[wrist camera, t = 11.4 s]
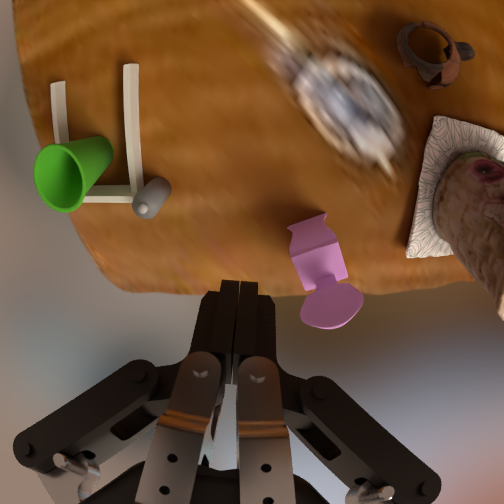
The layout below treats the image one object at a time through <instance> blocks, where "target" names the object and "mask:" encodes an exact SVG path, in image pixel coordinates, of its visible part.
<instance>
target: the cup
mask: <svg viewBox="0 0 504 504" xmlns="http://www.w3.org/2000/svg"><path fill="white" fill-rule="evenodd" d="M113 154H114V151H113V147H112V144H111V143H110V141H109V140H108V139H106V138H104V137H101V136H95V137H90V138H85V139H80V140H76V141H71V142H67V143H63V144H49V145H47V146H45V147H44V148H43V149H41V151H40V152H39V154H38V155H37V157H36V160H35V163H34V169H33V176H34V182H35V186H36V189H37V191H38V193H39V195H40V197H41V198H42V200H43V201H44V202H45V203H46V204H47V205H48V206H49V207H50V208H52V209H53V210H56V211H58V212H63V213H66V212H72V211H74V210H76V209H77V208H78V207H79V206H80V205H81V204H82V202H83V200H84V197H85V194H86V193H87V192H88V191H89V189H90V188H91V187H92V185H93V184H94V183H95V182H96V180H97V179H98V178H99V177H100V176H101V174H102V173H103V172H104V171H105V170H106V168H107V167H108V166H109V165H110V163H111V162H112V159H113Z"/></svg>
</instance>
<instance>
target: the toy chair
mask: <svg viewBox="0 0 504 504" xmlns="http://www.w3.org/2000/svg"><path fill="white" fill-rule="evenodd" d="M326 215H327V213H324V214H321V215H318V216H315V217H312V218H310V219H307V220H304V221H301V222H298V223H296V224H293V225H290V226H287V229H289V230H290V231H291V232H292V240H291V243H290V247H289V251H290V256H291V260H292V262H293V264H294V266H295V268H296V270H297V273H298V275H299V277H300V279H301V282H302V284H303V286H304V288H305V291H308V290H311V289H314V288H316V289H317V291H315V292H313V293H312V294H310V295H308V296H307V297H306V299H305V301H304V303H303V306H302V308H301V312H300V318H301V320H302V321H303V322H304V323H306V324H308V325H311V326H314V327H318V328H323V329H334V328H338V327H340V326H343V325H344V324H346V323H347V322H348V321H349V320H350V319H352V317H353V316H354V315H355V314H356V313H357V312H358V311H359V309H360V308H361V306H362V305H363V301H364V299H363V295H362V293H361V292H360V291H359V290H357V289H356V288H354V287H353V286H351V285H350V284H349V283H342V284H337V281H339V280H342V279H345V278H348V274H347V270H346V267H345V264H344V260H343V257H342V253H341V250H340V247H339V243H338V241H337V238H336V235H335V234H334V232H333V231H332V230H331V229H329V228H328V227H327V226H326V225H325V223H324V219H325V217H326Z"/></svg>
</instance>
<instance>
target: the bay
mask: <svg viewBox="0 0 504 504" xmlns="http://www.w3.org/2000/svg"><path fill="white" fill-rule="evenodd" d="M138 73H139V64H125V65H124V68H123V92H124V121H125V137H126V149H127V160H128V169H129V178H130V185H96V186H92V187H91V188H90V189H89V191H88V192H87V193H86V194H85V197H84V200H83V202H109V203H132V207H133V210H134V212H135V213H136V214H137V215H138V216H139V217H141V218H143V219H150V218H153V217H154V216H155V215H156V214H157V212H158V211H159V209H160V208H161V206H162V205H163V203H164V202H165V201H166V199H167V198H168V196H169V195H170V193H171V185H170V183H169V182H168V181H167V180H166V179H165V178H163V177H155V178H153V179H152V180H151V181H150V182H149V183H148V184H147V185H146V186H145V187H144V180H143V170H142V159H141V145H140V128H139V97H138ZM51 106H52V118H53V128H54V137H55V144H63V143H67V142H69V133H68V124H67V111H66V94H65V81H60V82H55V83H52V84H51Z"/></svg>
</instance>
